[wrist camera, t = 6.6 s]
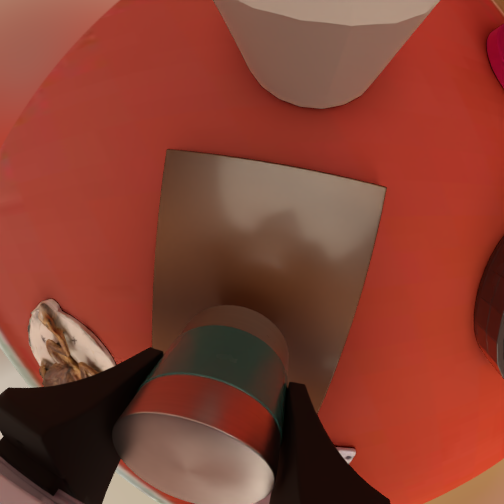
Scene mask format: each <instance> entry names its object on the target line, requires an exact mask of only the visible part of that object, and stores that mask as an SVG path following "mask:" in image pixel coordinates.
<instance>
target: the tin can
mask: <svg viewBox="0 0 504 504" xmlns="http://www.w3.org/2000/svg"><path fill="white" fill-rule="evenodd" d="M288 360H289V353H288V347H287V343H286V341H285V339H284V336H283V335H282V333H281V332H280V330H279V329H278V328H277V327H276V326H275V324H273V323H272V322H271V321H270V320H269V319H268V318H266V317H265V316H263V315H262V314H260V313H258V312H256V311H253V310H251V309H248V308H245V307H241V306H234V305H222V306H215V307H211V308H208V309H205V310H203V311H202V312H200V313H198V314H197V315H195V316H194V317H193V318H192V319H191V320H190V321H189V323H188V324H187V325H186V327H185V328H184V330H183V331H182V332H181V334H180V335H179V336H178V337H177V338H176V339H175V340H174V341H173V342H172V344H171V345H170V346H169V348H168V349H167V351H166V352H165V353H164V355H163V356H162V357H161V359H160V360H159V361H158V363H157V364H156V365H155V367H154V368H153V370H152V371H151V372H150V374H149V375H148V376H147V378H146V379H145V380H144V382H143V383H142V384H141V386H140V387H139V389H138V390H137V392H136V395H135V397H134V398H133V399H132V401H131V402H130V404H129V405H128V406H127V408H126V409H125V411H124V412H123V413H122V415H121V416H120V417H119V419H118V420H117V422H116V423H115V425H114V427H113V430H112V440H113V444H114V447H115V449H116V451H117V453H118V455H119V456H120V458H121V459H122V460H123V462H124V463H125V464H126V465H127V466H128V467H129V468H130V469H131V470H132V471H133V472H134V473H135V474H136V475H138V476H139V477H140V478H141V479H143V480H144V481H145V482H147V483H148V484H150V485H152V486H153V487H155V488H157V489H159V490H160V491H162V492H164V493H167V494H169V495H171V496H173V497H176V498H179V499H181V500H185V501H188V502H191V503H195V504H253V503H256V502H258V501H260V500H262V499H264V498H265V497H267V496H268V495H269V494H270V493H271V491H272V490H273V489H274V486H275V483H276V476H277V468H278V460H279V452H280V447H281V444H282V439H283V429H284V419H285V408H286V397H287V386H288V379H287V372H288Z"/></svg>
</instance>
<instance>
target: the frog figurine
mask: <svg viewBox="0 0 504 504" xmlns="http://www.w3.org/2000/svg"><path fill="white" fill-rule="evenodd" d="M31 314H32V316H31V319H30V320H29V326H28V334H29V345H30V346H31V349H32V352H33V354H34V356H35V358H36V360H37V361H38V363H39V365H40V369H39V372H40V375H41V376H42V378H43V383H42V384H43V385H44V387H47V386H55V385H60V384H64V383H69V382H73V381H77V380H80V379H84V378H87V377H90V376H92V375H95V374H98V373H100V372H102V371H104V370H107V369H109V368H111V367H114V366H116V365H115V362H114V360H113V358H112V356H111V355H110V353H109V352H108V350H107V349H106V348H105V346H104V345H103V343H102V342H101V341H100V340H99V339H98V338H97V337H96V336H95V335H94V334H93V333H92V332H91V331H90V330H88V329H87V328H86V327H85V326H84V325H83V324H82V323H80V322H79V321H78V320H76V319H75V318H73V317H72V316H71V315H69V314H66V313H65V312H63V311H62V310H61V308H60V306H59V304H58V303H57V302H56V301H54V300H53V299H48V300H45V301H42V302H40V303H39V305H38V306H37V307H36V308H35V309H34V310H33V312H31Z"/></svg>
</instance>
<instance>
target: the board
mask: <svg viewBox="0 0 504 504" xmlns="http://www.w3.org/2000/svg"><path fill="white" fill-rule="evenodd" d="M386 189H387V188H386V187H384V186H380V185H376V184H372V183H368V182H364V181H360V180H356V179H352V178H347V177H343V176H338V175H334V174H329V173H324V172H320V171H315V170H310V169H304V168H299V167H294V166H288V165H283V164H277V163H271V162H265V161H259V160H253V159H246V158H239V157H232V156H225V155H217V154H209V153H201V152H192V151H182V150H172V149H167V151H166V158H165V165H164V172H163V180H162V188H161V196H160V205H159V215H158V225H157V237H156V249H155V264H154V283H153V310H152V348H154V349H158V350H161V351H163V355H164V353H165V352H166V351H167V349H168V348H169V346H170V345H171V344H172V342H173V341H174V340H175V339H176V338H177V337H178V336H179V335H180V334H181V332H182V331H183V330H184V328H185V327H186V325H187V324H188V323H189V321H190V320H191V319H192V318H193V317H194V316H195V315H197V314H198V313H200V312H202V311H203V310H205V309H208V308H211V307H215V306H222V305H234V306H241V307H245V308H248V309H251V310H253V311H256V312H258V313H260V314H262V315H263V316H265V317H266V318H268V319H269V320H270V321H271V322H272V323H273V324H275V326H276V327H277V328H278V329H279V330H280V332H281V333H282V335H283V336H284V339H285V341H286V343H287V347H288V353H289V360H288V372H287V379H288V385H289V382H295V383H301V384H305V386H306V388H307V391H308V394H309V396H310V399H311V402H312V404H313V407H314V409H315V411H316V413H317V414H318V412H319V409H320V407H321V405H322V402H323V400H324V397H325V395H326V393H327V390H328V388H329V385H330V383H331V380H332V377H333V375H334V372H335V370H336V367H337V364H338V362H339V359H340V356H341V353H342V351H343V348H344V345H345V342H346V339H347V336H348V333H349V330H350V327H351V324H352V321H353V318H354V315H355V312H356V309H357V306H358V302H359V299H360V296H361V292H362V289H363V285H364V282H365V278H366V275H367V271H368V267H369V264H370V260H371V256H372V252H373V248H374V244H375V240H376V236H377V232H378V227H379V223H380V218H381V214H382V209H383V204H384V199H385V194H386ZM287 388H288V386H287Z"/></svg>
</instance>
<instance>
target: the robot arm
mask: <svg viewBox="0 0 504 504" xmlns="http://www.w3.org/2000/svg"><path fill="white" fill-rule="evenodd" d="M162 356H163V351H161V350H158V349H154V348H151V347H150V348H148V349H146V350H144V351H142V352H140V353H139V354H137V355H135V356H133V357H131V358H129V359H127V360H126V361H124V362H122V363H120V364H118V365H116V366H114V367H111V368H109V369H107V370H104V371H102V372H100V373H98V374H95V375H92V376H90V377H87V378H84V379H80V380H77V381H73V382H69V383H64V384H60V385H55V386H47V387H37V388H7V389H6V390H5V391H4V392H3V393H1V394H0V431H1V433H2V435H3V436H4V437H3V438H2V439H1V440H0V504H102V502H103V499H104V497H105V494H106V491H107V489H108V486H109V484H110V481H111V479H112V477H113V474H114V472H115V470H116V468H117V466H118V464H119V461H120V459H121V458H120V456H119V455H118V453H117V451H116V449H115V447H114V444H113V440H112V430H113V427H114V425H115V423H116V422H117V420H118V419H119V417H120V416H121V415H122V413H123V412H124V411H125V409H126V408H127V406H128V405H129V404H130V402H131V401H132V399H133V398H134V397H135V395H136V392H137V390H138V389H139V387H140V386H141V384H142V383H143V382H144V380H145V379H146V378H147V376H148V375H149V374H150V372H151V371H152V370H153V368H154V367H155V365H156V364H157V363H158V361H159V360H160V359H161V357H162ZM355 455H356V450H355V449H354V448H342V447H335V446H334V444H333V443H332V441H331V440H330V438H329V436H328V435H327V433H326V431H325V429H324V427H323V426H322V424H321V422H320V420H319V418H318V415H317V413H316V411H315V409H314V407H313V404H312V402H311V399H310V396H309V394H308V391H307V388H306V386H305V384H301V383H295V382H289V385H288V388H287V397H286V408H285V419H284V429H283V439H282V444H281V447H280V452H279V460H278V468H277V476H276V483H275V486H274V489H273V490H272V491H271V493H270V494H269V495H268V496H267V497H265V498H264V499H262V500H260V501H258V502H256V503H253V504H390V500H389V499H388V498H386V497H385V496H384V495H382V494H381V493H379V492H378V491H377V490H375V489H374V488H373V487H371V486H370V485H369V484H368V483H367V482H366V481H365V480H364V479H362V478H361V477H360V476H359V475H358V474H357V473H356V472H355V471H354V469H353V468H352V467H351V466H350V465H349V463H350V462H351V461H352V459H353V458H354V456H355Z"/></svg>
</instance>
